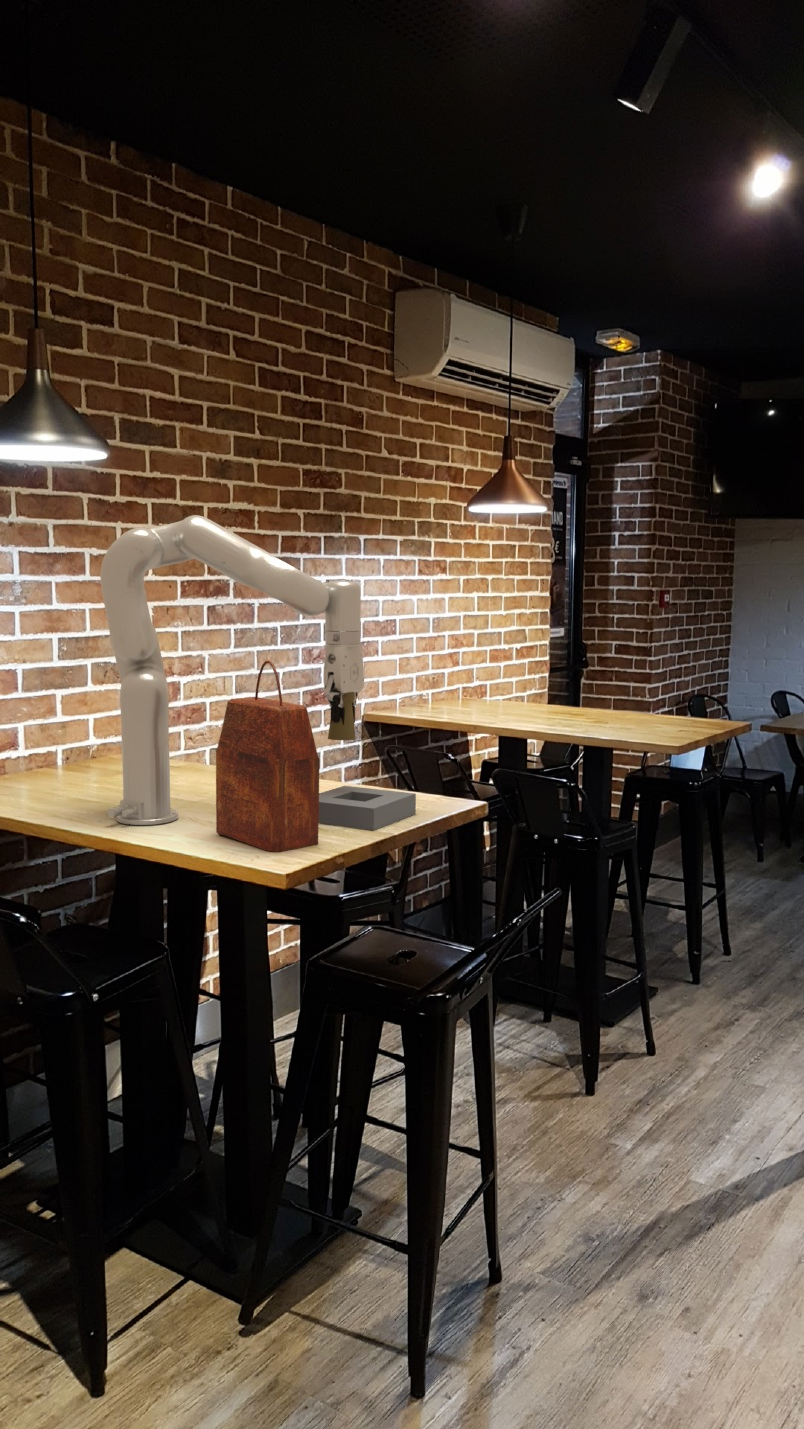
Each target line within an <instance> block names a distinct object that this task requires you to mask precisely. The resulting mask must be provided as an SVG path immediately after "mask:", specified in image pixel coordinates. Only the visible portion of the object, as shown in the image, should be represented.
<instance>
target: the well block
mask: <svg viewBox="0 0 804 1429" xmlns="http://www.w3.org/2000/svg"><path fill="white" fill-rule="evenodd" d="M416 798H417V795H416V793H415V792H414V793H413V792H406V791H405V792H404V791H395V790H385V789H377V788H368V787H360V786H359V787H357V786H351V785H343V786H340V787H335V788H332V789H328V790H326V791H321V792H319V824H321V825H329V826H337V827H344V828H352V829H358V830H366V831H377V830H378V829H381V827H382V828H384V827H386V826H389V825H392V824H393V823H397V822H399V821H402V820H404V818H405V819H407V818H410V817H412V816H414V815H416V814H417V812H416V811H417V808H416V805H417V804H416V803H417V800H416ZM411 815H412V816H411Z"/></svg>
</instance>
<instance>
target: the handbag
mask: <svg viewBox="0 0 804 1429" xmlns="http://www.w3.org/2000/svg"><path fill="white" fill-rule="evenodd" d="M267 664H269V665H270V667H271V668H272V670H273V674H274V676H275V681H276V686H277V692H278V699H279V700H275V699H269V698H264V697H259V696H258V695H259V688H260V682H261V677H262V674H263V670H264V667H265V666H266V665H267ZM255 686H256V687H255V696H254V697H241V698H239V697H238V698H231V699H230V700H229V699H228V701H227V703H226V706H225V707H226V709H225V714H224V717H223V722H222V726H221V732H220V735H219V740H218V744H217V746H216V749H215V797H216V798H215V803H216V804H215V807H216V808H215V812H216V813H215V815H216V816H215V817H216V818H215V827H216V829H215V833H216V834H218V835H219V836H224V837H225V836H226V837H227V838H230V839H234V840H237V841H240V842H242V843H245V844H248V845H251V846H253V847H256V848H258V849H262V850H265V851H267V852H275V853H280V852H285V851H290V850H294V849H295V850H296V849H300V848H305V847H310V846H317V845H319V824H320V823H319V793H320V761H321V760H320V757H319V754H318V751H317V747H316V742H315V737H314V732H313V729H312V725H311V724H312V723H311V720H310V717H309V716H310V715H309V712H308V708H307V707H306V706H305V705H303V704H298V703H292V702H291V703H290V702H286V701H283V696H282V690H281V684H280V679H279V674H278V671H277V669H276V667H275V664H274V663H273V662H272V661H271V660H264V662H263V663H262V665H261V667H260V669H259V672H258V675H257V681H256V685H255Z"/></svg>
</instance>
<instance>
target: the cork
mask: <svg viewBox="0 0 804 1429" xmlns="http://www.w3.org/2000/svg"><path fill="white" fill-rule="evenodd" d="M334 692H339V693H340V691H338V690H336V689H335V690H334ZM335 696H337V697H338V699H339V695H335ZM354 699H355V693H354V692H352V693H344V695H343V707H345V719H344V725H343V723H342V719H341V717H340V721H339V722H337V723H335V722H333V721H332V723H331V719H330V721H329V727H328V735H327V740H332V741H355V740H356V738H357V737H356V728H355V723H354V718H353V708H352V703H353V701H354Z"/></svg>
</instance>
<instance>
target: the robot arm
mask: <svg viewBox="0 0 804 1429" xmlns="http://www.w3.org/2000/svg"><path fill="white" fill-rule="evenodd" d="M190 560H197V561H198V562H200V563H201V564H203V565H205V566H208V567H210V568H212V569H213V570H215V571H216V572H218V573H220V574H222V575H224V576H226V577H227V578H230V579H231V580H233V581H234V582H236V583H239V584H241V585H243V586H244V587H248V588H251V589H253V590H256V591H259V592H262V593H264V594H265V595H268V596H269V597H271V598H273V599H275V600H277V601H279V602H281V603H283V604H285V605H286V606H288V607H290V608H291V610H293V611H294V613H296V614H298V615H301V616H305V617H306V616H307V617H315V616H318V615H321V614H324V615H325V616H324V617H325V619H324V621H325V622H324V623H325V624H324V626H325V627H324V628H325V631H324V636H325V637H324V638H325V640H324V642H325V653H324V663H323V664H324V665H323V689H324V694H323V696H324V697H325V698H326V699H327V700H328V703H329V704H328V706H329V708H330V720H331V723H332V721H333V722H335V723H337V722H339V721H340V717H341V719H342V723H343V725H344V719H345V707H343V695H344V693H352V692H354V693H355V699H354V701H353V703H352V708H353V718H354V724H356V705H357V698H358V696H359V693H360V692H361V691H362V690H364V687H365V671H364V670H365V669H364V658H363V650H362V646H361V640H362V639H361V633H362V632H361V631H362V630H361V629H362V627H361V621H362V620H361V618H362V617H361V615H362V614H361V609H362V607H361V605H362V603H361V602H362V601H361V600H362V599H361V597H362V596H361V595H362V594H361V591H362V590H361V586H360V584H359V583H358V582H356V581H350V580H349V581H347V580H346V581H344V580H343V581H341V580H337V581H335V580H334V581H329V582H322V581H320V580H317V579H316V578H314V577H312V576H311V575H308V573H305V572H303V571H302V570H299V569H298V568H296V567H294V566H293V565H290V564H289V563H288V562H285V561H284V560H281V559H280V558H278V557H276V556H275V555H273V554H271V553H270V552H268V551H266V550H265V549H264V548H261V547H260V546H258V545H256V544H254V543H252V542H250V541H249V540H247V539H245V538H243V537H241V536H240V535H238V534H236V533H234V532H233V531H230V530H229V529H228V528H226V527H224V526H222V525H220V524H218V523H216V522H215V521H213V520H211V519H209V518H208V517H205V516H202V515H198V514H197V515H196V514H192V515H189V516H187V517H185V518H184V519H182V520H179V521H177V522H171V523H168V524H163V525H158V526H155V527H150V528H145V527H134V528H131V529H129V530H127V531H126V532H124V533H123V534H121V535H120V536H119V537H118V538H116V539H115V541H113V543H112V544H111V545H110V546H109V548H107V551H106V553H105V555H104V556H103V559H102V562H101V567H100V575H99V576H100V577H99V579H100V587H101V588H100V589H101V593H102V594H101V595H102V599H103V604H104V610H105V615H106V620H107V626H108V630H109V642H110V646H111V649H112V651H113V653H114V657H115V662H116V667H117V668H116V669H117V671H118V675H119V680H120V691H119V704H120V705H119V706H120V724H121V725H120V726H121V731H120V732H121V754H122V755H121V757H122V758H121V759H122V790H123V791H122V794H123V796H122V797H123V799H121V800H120V801H119V805H118V806H114V807H111V808H108V809H107V811H106V813H107V816H108V817H109V818H110V819H113V818H115V820H116V822H118V823H120V824H124V825H129V824H130V825H132V826H153V825H161V824H166V823H171V822H174V821H176V820H177V819H178V818H179V812H178V811H177V810H176V809H172V808H171V778H170V777H171V772H170V768H171V767H170V734H169V733H170V729H169V728H170V726H169V723H170V722H169V718H170V716H169V710H170V709H169V707H170V706H169V704H170V702H169V700H170V698H169V696H170V695H169V684H168V680H167V676H166V671H165V668H164V661H163V657H162V653H161V648H160V643H159V642H160V641H159V638H158V634H157V630H156V627H155V626H154V625H153V622H152V618H151V614H150V610H149V604H148V598H147V594H146V587H145V575H146V573H147V572H148V571H150V570H154V569H155V570H156V569H158V568H162V567H166V566H171V565H175V564H176V565H177V564H179V563H184V562H187V561H188V562H189V561H190ZM335 689H336V690H338V691H340V693H339V692H334V690H335ZM335 695H339V699H338V697H337V696H335Z"/></svg>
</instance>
